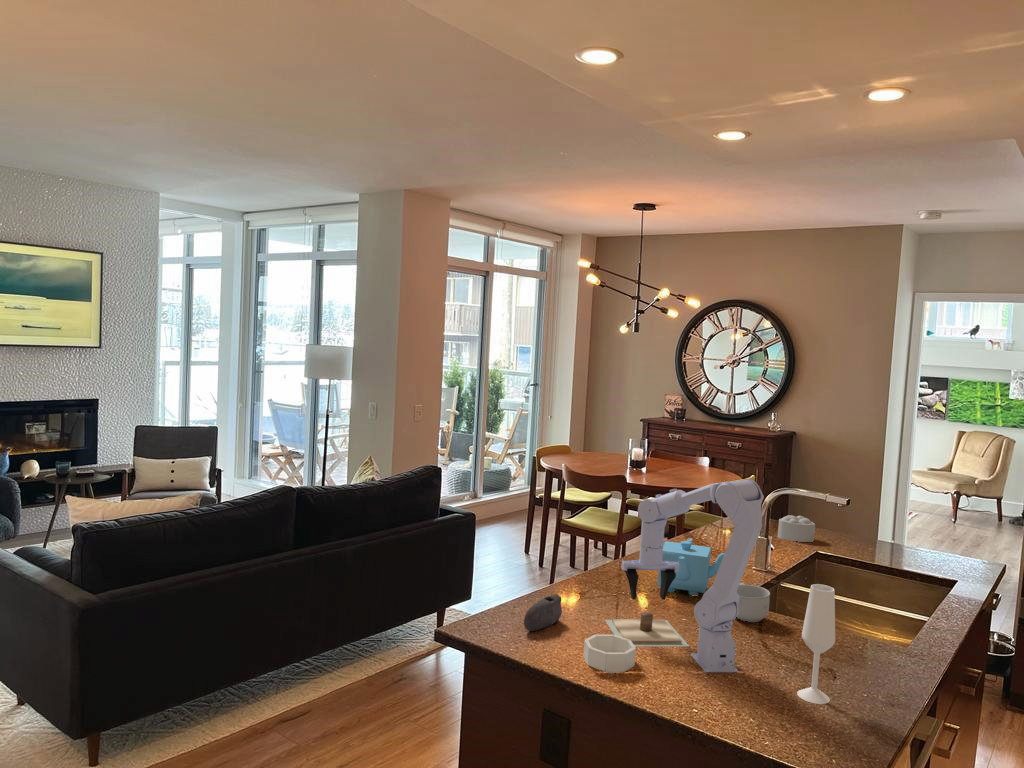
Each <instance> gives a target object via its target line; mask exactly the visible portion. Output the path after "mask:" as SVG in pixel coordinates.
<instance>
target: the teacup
mask: <svg viewBox="0 0 1024 768" xmlns="http://www.w3.org/2000/svg"><path fill="white" fill-rule="evenodd" d="M737 594H738V595H739V596H740V600H739V603H738V609H739V612H738V616H737V618H736V619H738V620H739V619H741V620H740V621H742V620H743V621H742V622H745V621H748V622H747V623H758V622H760V621H762V620H763V619H765V618H766V617H767V616H768V614H769V612H770V611H769V610H770V601H771V600H770V597H771V592H770V591H769V590H768V589H766V588H765V587H762V586H759V585H756V584H755V585H754V584H746V583H745V582H740V584H739V587H738V589H737Z"/></svg>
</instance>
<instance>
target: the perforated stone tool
mask: <svg viewBox="0 0 1024 768" xmlns="http://www.w3.org/2000/svg"><path fill="white" fill-rule="evenodd" d="M562 609H563V608H562V596H560V595H559V594H557V593H555V594H552V595H548V596H545V597H543V598H542V599H539V600H538V601H537V602H535V603H534V604H533V605H532V606H530V607H529V608H528V610H526V613H525V615H524V619H523V625H524V628H525V629H526V630H527V631H529V632H535V631H539V630H542V629H545V628H547V627H550V626H552V625H553V624H555V623H556V622H558V621H559V620H560V618H561V615H562V612H563V610H562Z"/></svg>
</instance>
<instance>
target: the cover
mask: <svg viewBox="0 0 1024 768" xmlns="http://www.w3.org/2000/svg"><path fill="white" fill-rule="evenodd" d="M611 620H612V623H613V625H614V626H615V628H616V629H617V631H618V632H619V633H620V635H621V636H622V637H623V638H626V639H629V640H631V642H632V643H633V644H682V640H681V639H680V638H679V637H678V636H677V635H676V633H675V632H674V631H673V630H672V629H671V628H670V626H669V625H668V624H667V623H666V622H665V621H664V620H665V619H659V618H658V619H655V618H654V615H653V613H652V612H648V611H642V612H640V619H636V618H635V619H633V618H631V619H630V618H629V619H628V618H626V619H625V618H624V619H623V618H621V619H619V618H611Z"/></svg>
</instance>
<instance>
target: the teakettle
mask: <svg viewBox="0 0 1024 768" xmlns="http://www.w3.org/2000/svg"><path fill="white" fill-rule="evenodd" d="M724 554H725V552H721V553H720V554H719V555H717V557H716V559H715V560H714V561H715V562H714V563H713V564H711V556H712V547H711V546H705V545H696V544H693V538H691V537H688V538H687V539H686V540H682V541H680V542H676V541H675V542H673V541H667V540H666V541H665V542H663V556H662V561H670V562H677V563H678V564H679V572H677V571H675V573H676V577H675V579H674V580H673V582H672V583H671V585H670V587H669V589H668V592H674V591H675V592H676V590H681V591H688V595H689V594H690V595H699V593H702V594H704V593H705V592H706V591H707V590H708V585H709V582H710V579H712V578H713V577H716V575H717V572H718V570H719V567H720V564H721V562H722V559H723V557H724ZM657 571H658V573H657V584H656V585H657V587H661V570H657ZM675 592H674V593H675ZM690 595H689V596H690Z"/></svg>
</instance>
